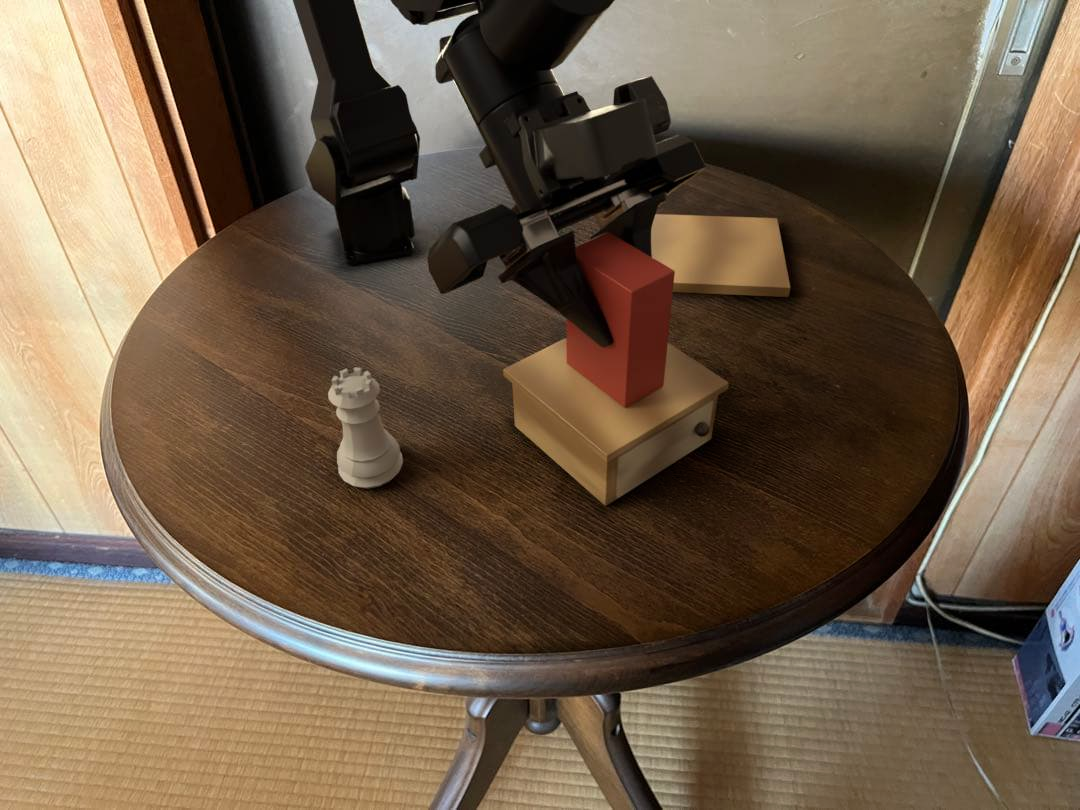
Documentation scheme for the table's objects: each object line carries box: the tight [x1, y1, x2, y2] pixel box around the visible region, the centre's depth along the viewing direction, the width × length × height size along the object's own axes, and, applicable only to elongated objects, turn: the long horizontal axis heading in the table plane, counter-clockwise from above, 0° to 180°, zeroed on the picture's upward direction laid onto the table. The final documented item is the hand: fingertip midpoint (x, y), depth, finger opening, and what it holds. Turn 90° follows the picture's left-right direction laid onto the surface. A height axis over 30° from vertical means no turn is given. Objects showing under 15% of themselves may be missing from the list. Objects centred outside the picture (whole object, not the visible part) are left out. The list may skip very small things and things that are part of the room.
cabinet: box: [502, 337, 730, 507], centre depth 58 cm, size 11×12×5 cm
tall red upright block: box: [565, 232, 675, 408], centre depth 53 cm, size 4×6×9 cm, turn 38°
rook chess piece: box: [327, 367, 404, 490], centre depth 55 cm, size 4×4×8 cm
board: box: [651, 213, 791, 298], centre depth 77 cm, size 13×12×1 cm
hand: (630, 333), depth 53 cm, fingers closed on tall red upright block, 3 cm apart
